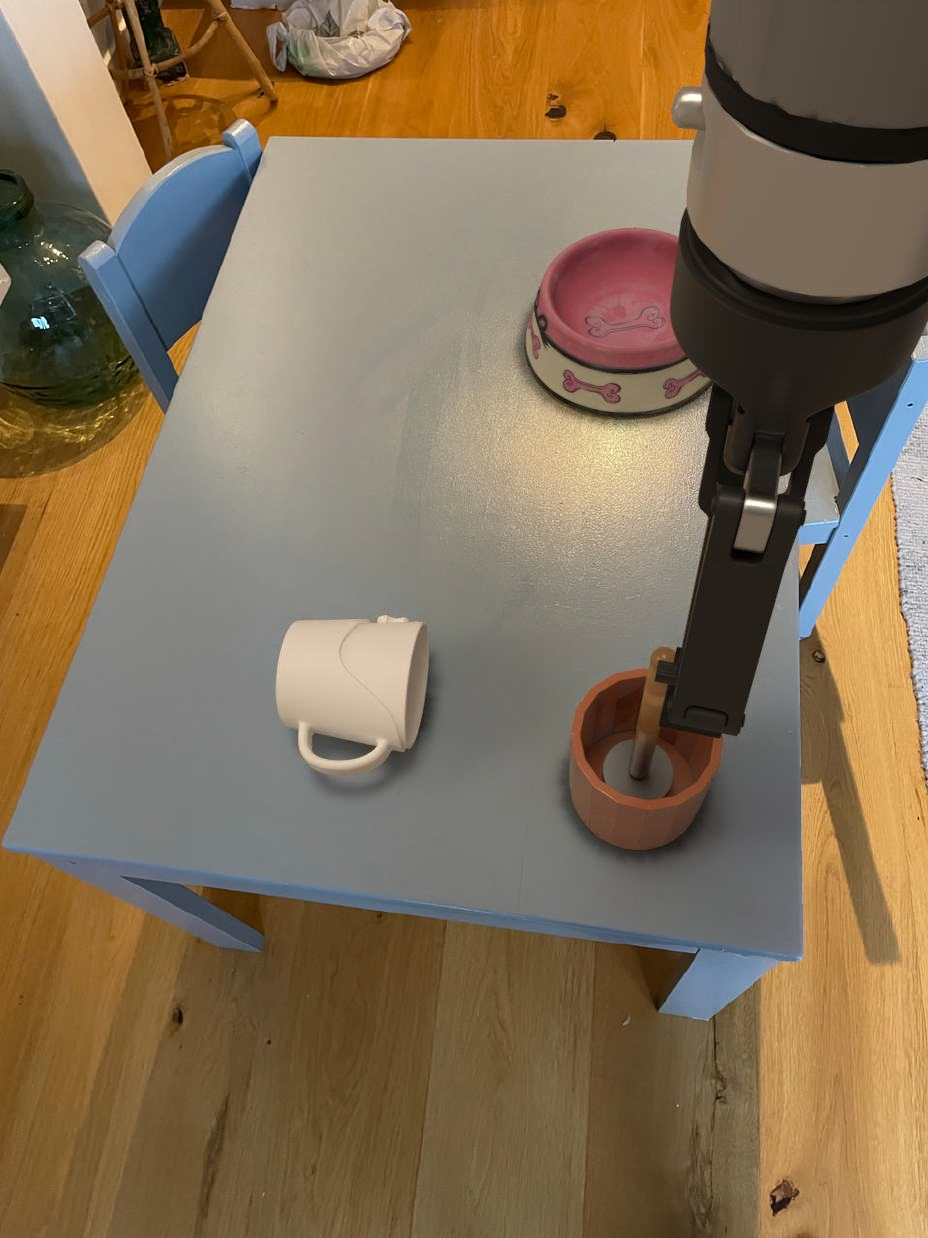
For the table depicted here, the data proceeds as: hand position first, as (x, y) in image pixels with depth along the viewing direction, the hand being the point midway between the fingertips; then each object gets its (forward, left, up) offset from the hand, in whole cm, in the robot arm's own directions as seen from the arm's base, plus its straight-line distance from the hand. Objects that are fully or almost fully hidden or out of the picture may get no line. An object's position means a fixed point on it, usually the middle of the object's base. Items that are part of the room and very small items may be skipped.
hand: (711, 595), depth 44 cm
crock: (+2, +2, -26) cm, 26 cm away
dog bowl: (+10, -40, -26) cm, 49 cm away
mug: (+23, +1, -26) cm, 34 cm away
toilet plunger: (+2, +2, -25) cm, 25 cm away
